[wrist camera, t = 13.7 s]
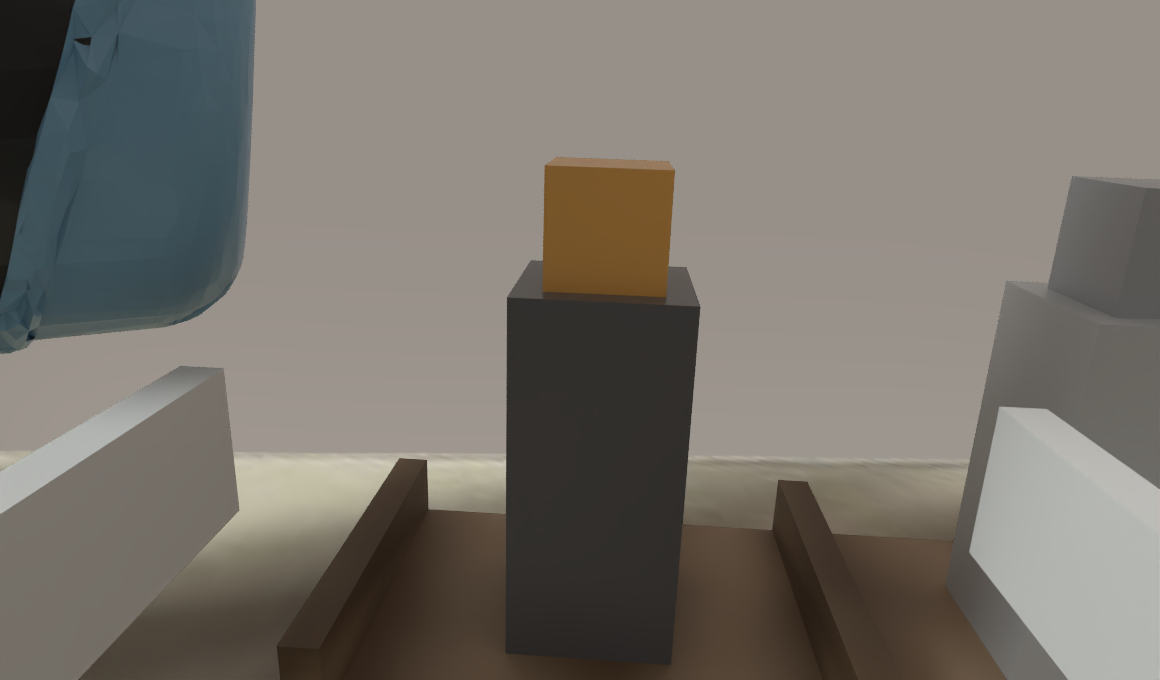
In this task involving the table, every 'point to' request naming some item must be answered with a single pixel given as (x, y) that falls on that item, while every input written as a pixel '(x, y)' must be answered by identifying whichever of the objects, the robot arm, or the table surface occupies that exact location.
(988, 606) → the grey plug
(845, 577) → the brown wooden tray
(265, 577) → the table surface
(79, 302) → the robot arm
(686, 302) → the charcoal plug
